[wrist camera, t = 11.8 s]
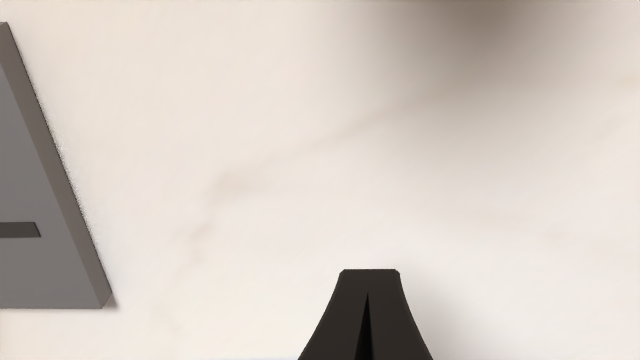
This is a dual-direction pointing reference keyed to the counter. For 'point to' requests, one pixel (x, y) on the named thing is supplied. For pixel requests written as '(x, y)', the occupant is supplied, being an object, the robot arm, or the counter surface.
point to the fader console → (38, 207)
